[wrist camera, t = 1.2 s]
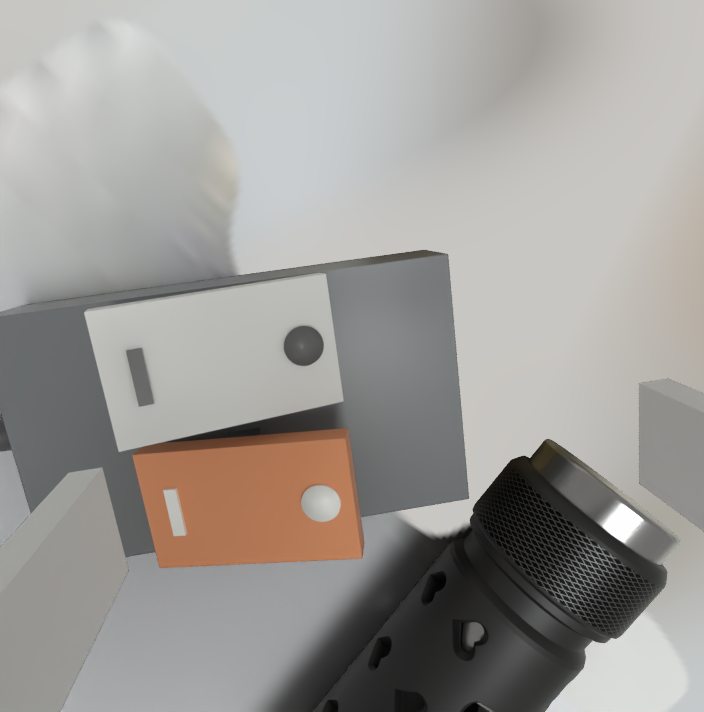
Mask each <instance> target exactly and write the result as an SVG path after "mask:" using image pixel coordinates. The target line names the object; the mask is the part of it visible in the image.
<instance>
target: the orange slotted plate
mask: <svg viewBox="0 0 704 712" xmlns="http://www.w3.org/2000/svg"><path fill="white" fill-rule="evenodd" d="M132 456H133V460H134V464H135V469H136V473H137V477H138V481H139V485H140V489H141V493H142V497H143V502H144V506H145V510H146V514H147V518H148V522H149V526H150V530H151V534H152V539H153V543H154V547H155V551H156V555H157V559H158V563H159V567H160V568H171V567H192V566H213V565H234V564H255V563H276V562H296V561H317V560H338V559H359V558H362V556H363V549H364V537H363V530H362V523H361V516H360V508H359V501H358V494H357V487H356V480H355V472H354V465H353V458H352V451H351V444H350V436H349V429H348V428H342V429H330V430H317V431H305V432H292V433H280V434H268V435H255V436H243V437H230V438H218V439H206V440H193V441H181V442H169V443H157V444H152V445H148V446H143V447H141V448H140V449H139V450H137V451H136V452H135V453H134V454H133V455H132Z"/></svg>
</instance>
